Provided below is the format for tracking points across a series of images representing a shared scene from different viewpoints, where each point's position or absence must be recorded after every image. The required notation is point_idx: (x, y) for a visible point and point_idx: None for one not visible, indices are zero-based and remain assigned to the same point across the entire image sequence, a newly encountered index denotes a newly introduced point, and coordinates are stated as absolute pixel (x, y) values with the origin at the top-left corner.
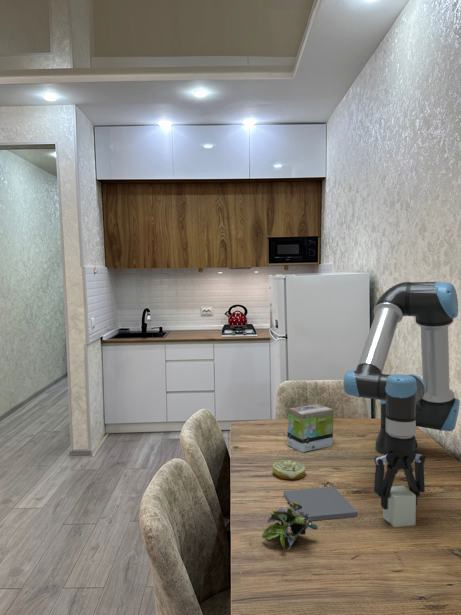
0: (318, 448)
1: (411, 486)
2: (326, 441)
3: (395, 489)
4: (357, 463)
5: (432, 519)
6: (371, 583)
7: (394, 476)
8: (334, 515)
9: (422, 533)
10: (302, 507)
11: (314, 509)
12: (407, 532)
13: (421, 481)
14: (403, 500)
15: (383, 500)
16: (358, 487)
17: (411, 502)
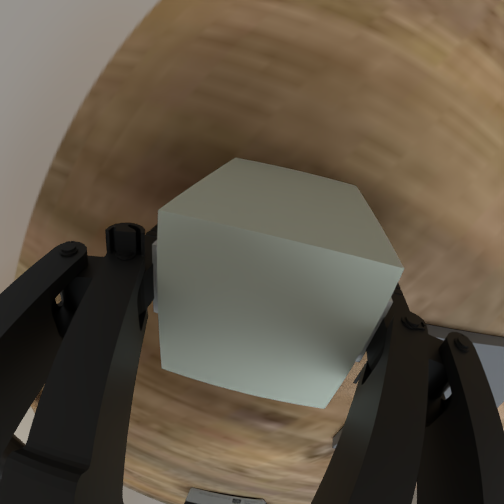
0: (224, 495)
1: (131, 315)
2: (202, 499)
3: (265, 364)
4: (178, 458)
5: (128, 171)
6: None
7: (354, 499)
8: (487, 341)
9: (261, 78)
10: (502, 391)
11: (496, 378)
12: (330, 116)
13: (23, 298)
14: (304, 226)
15: (409, 311)
16: (251, 426)
17: (226, 197)
